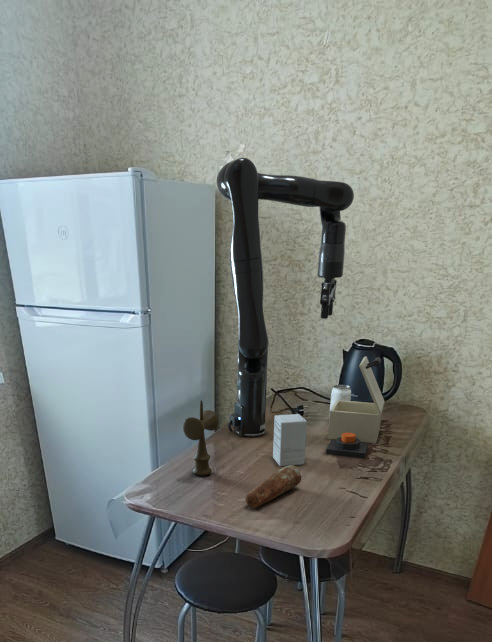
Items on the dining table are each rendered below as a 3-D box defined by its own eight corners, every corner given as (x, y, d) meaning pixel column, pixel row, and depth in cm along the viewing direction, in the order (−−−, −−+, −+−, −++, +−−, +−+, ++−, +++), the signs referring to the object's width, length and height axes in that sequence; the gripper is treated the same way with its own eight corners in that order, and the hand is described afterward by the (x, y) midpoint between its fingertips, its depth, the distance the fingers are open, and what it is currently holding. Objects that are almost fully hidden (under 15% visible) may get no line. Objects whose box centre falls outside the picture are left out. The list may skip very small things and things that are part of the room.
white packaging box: (296, 456, 167) (299, 413, 161) (304, 465, 160) (308, 420, 154) (272, 457, 166) (274, 414, 160) (278, 466, 159) (281, 422, 153)
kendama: (183, 477, 153) (181, 403, 143) (201, 466, 160) (200, 394, 151) (202, 481, 150) (202, 406, 141) (220, 469, 157) (220, 397, 148)
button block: (325, 454, 168) (326, 443, 166) (330, 444, 175) (331, 433, 174) (364, 458, 165) (365, 446, 163) (367, 448, 172) (368, 437, 171)
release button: (340, 442, 167) (340, 435, 167) (342, 438, 171) (342, 431, 170) (354, 444, 166) (355, 437, 165) (355, 440, 170) (356, 433, 169)
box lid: (359, 365, 168) (375, 358, 166) (363, 357, 180) (379, 350, 177) (378, 414, 172) (395, 407, 170) (382, 402, 184) (397, 396, 181)
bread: (302, 487, 146) (304, 467, 143) (258, 512, 133) (259, 490, 130) (281, 481, 150) (282, 461, 147) (236, 505, 137) (237, 483, 134)
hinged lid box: (327, 438, 181) (330, 410, 177) (333, 426, 192) (336, 400, 188) (375, 443, 176) (379, 415, 172) (379, 430, 188) (383, 403, 184)
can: (325, 420, 198) (328, 385, 193) (340, 418, 201) (344, 383, 195) (336, 425, 193) (339, 389, 188) (352, 423, 195) (356, 387, 190)
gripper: (340, 261, 166) (335, 320, 174) (346, 259, 178) (341, 314, 186) (314, 261, 169) (310, 319, 176) (322, 259, 181) (318, 313, 188)
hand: (326, 316), depth 181 cm, fingers open, 8 cm apart
